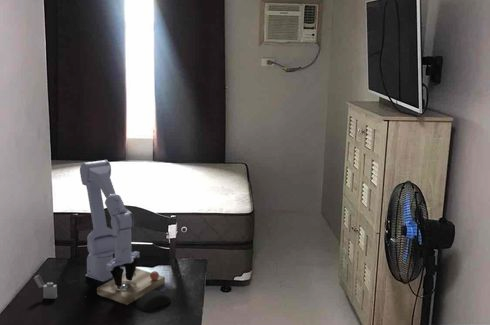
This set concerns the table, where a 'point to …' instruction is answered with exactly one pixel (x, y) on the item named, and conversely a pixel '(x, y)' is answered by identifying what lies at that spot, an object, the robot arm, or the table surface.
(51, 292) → the lighter
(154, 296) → the computer mouse
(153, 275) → the red ball
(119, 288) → the steel ball
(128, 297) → the maple board
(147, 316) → the table surface
